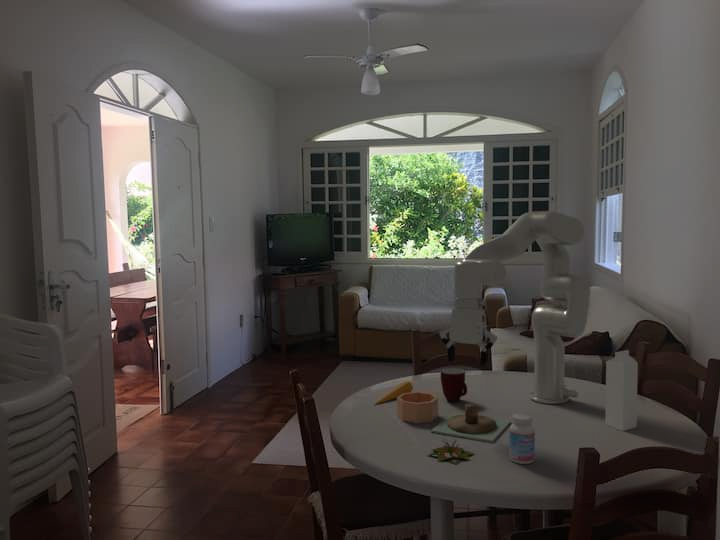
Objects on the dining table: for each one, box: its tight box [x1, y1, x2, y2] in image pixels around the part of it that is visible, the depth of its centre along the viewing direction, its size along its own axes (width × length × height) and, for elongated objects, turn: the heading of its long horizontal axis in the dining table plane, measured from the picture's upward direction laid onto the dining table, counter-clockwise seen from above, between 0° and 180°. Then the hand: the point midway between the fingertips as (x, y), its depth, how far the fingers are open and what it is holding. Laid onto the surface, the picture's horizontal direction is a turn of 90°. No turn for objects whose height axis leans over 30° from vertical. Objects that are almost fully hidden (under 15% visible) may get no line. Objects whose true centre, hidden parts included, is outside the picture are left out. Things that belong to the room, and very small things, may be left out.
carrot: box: [373, 381, 414, 406], centre depth 204 cm, size 20×4×4 cm, turn 138°
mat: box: [430, 411, 512, 443], centre depth 174 cm, size 18×18×1 cm
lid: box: [447, 403, 496, 434], centre depth 173 cm, size 14×14×6 cm
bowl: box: [396, 391, 439, 424], centre depth 184 cm, size 12×12×6 cm
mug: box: [440, 367, 468, 403], centre depth 199 cm, size 10×8×10 cm
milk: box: [604, 349, 639, 432], centre depth 172 cm, size 6×6×22 cm
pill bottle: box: [509, 413, 536, 465], centre depth 149 cm, size 6×6×11 cm
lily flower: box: [426, 438, 475, 465], centre depth 154 cm, size 12×12×5 cm
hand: (467, 362), depth 173 cm, fingers open, 9 cm apart
